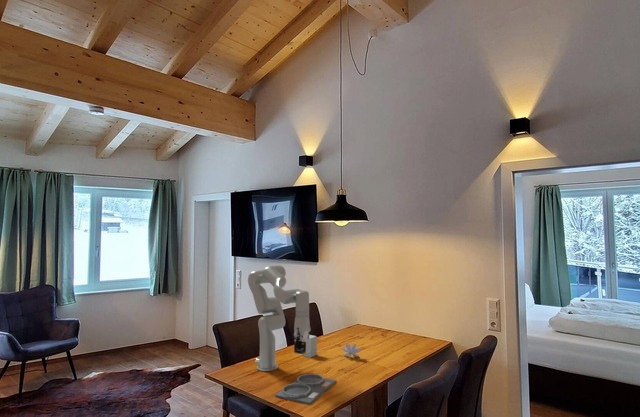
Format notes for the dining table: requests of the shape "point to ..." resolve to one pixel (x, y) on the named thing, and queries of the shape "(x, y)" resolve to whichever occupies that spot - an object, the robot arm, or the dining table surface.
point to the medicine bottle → (303, 344)
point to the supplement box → (312, 347)
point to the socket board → (314, 391)
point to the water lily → (351, 350)
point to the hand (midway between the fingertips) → (302, 346)
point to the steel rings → (300, 384)
